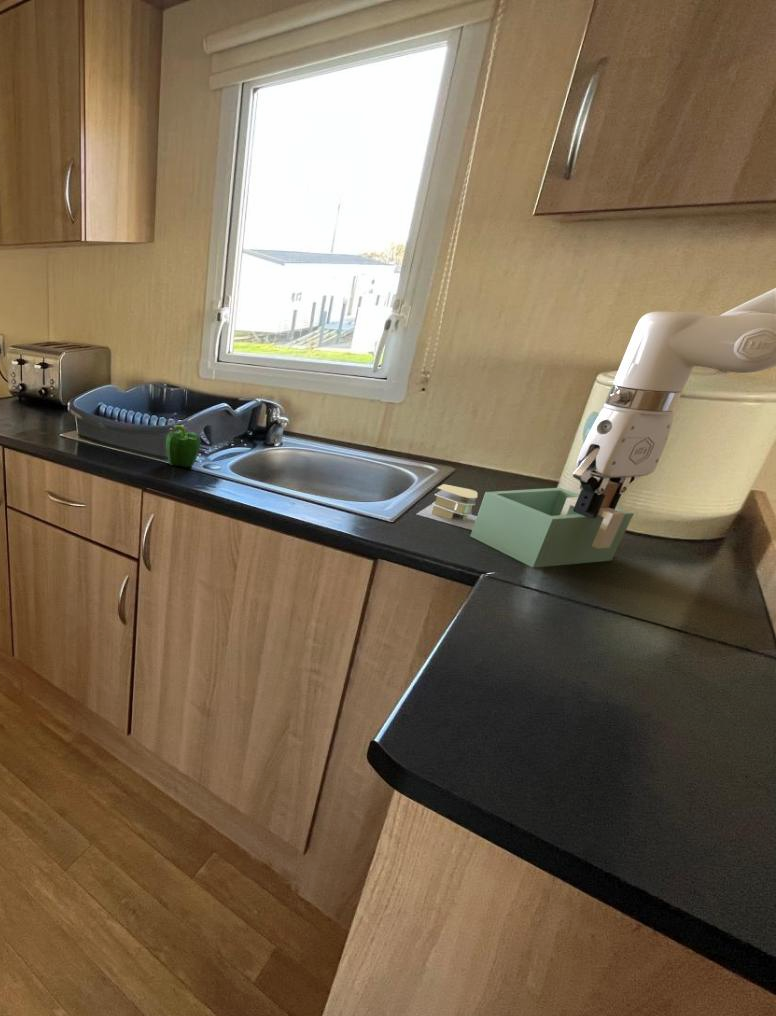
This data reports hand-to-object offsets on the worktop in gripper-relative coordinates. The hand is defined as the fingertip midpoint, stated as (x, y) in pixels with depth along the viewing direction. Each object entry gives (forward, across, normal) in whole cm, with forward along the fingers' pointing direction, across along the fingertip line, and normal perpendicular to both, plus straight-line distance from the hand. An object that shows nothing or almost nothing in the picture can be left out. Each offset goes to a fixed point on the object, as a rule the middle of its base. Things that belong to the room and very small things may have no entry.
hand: (592, 513), depth 89 cm
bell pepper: (+9, -46, +61) cm, 77 cm away
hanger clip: (+5, 0, 0) cm, 5 cm away
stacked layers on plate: (+9, -4, +21) cm, 23 cm away
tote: (+9, 0, +6) cm, 11 cm away
